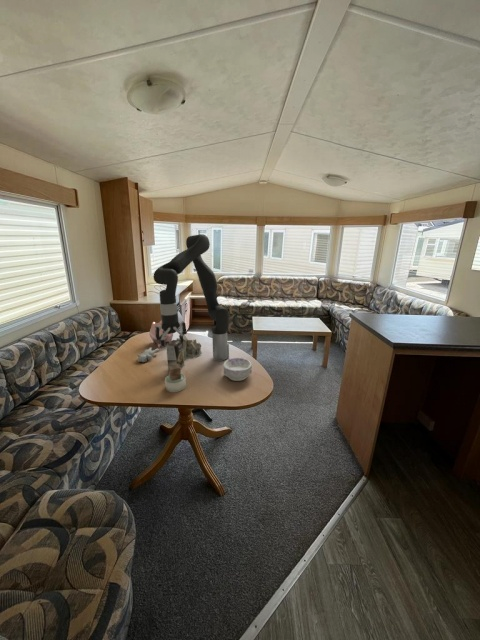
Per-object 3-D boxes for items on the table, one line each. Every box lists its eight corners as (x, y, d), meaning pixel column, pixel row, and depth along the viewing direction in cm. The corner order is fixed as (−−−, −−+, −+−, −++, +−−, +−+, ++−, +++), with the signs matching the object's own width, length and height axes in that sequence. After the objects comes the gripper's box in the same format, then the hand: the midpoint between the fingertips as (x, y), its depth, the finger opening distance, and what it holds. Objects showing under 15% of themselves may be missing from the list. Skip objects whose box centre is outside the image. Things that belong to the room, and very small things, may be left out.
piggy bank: (166, 337, 199) (165, 317, 194) (177, 344, 186) (176, 323, 181) (147, 342, 189) (144, 321, 185) (157, 349, 176) (154, 327, 171)
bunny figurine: (132, 356, 157) (147, 344, 170) (134, 363, 159) (148, 351, 172) (146, 358, 155) (160, 346, 168) (148, 365, 157) (161, 353, 170)
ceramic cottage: (170, 359, 162) (170, 336, 158) (182, 349, 177) (183, 328, 173) (193, 363, 158) (193, 340, 154) (204, 353, 174) (204, 332, 169)
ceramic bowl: (182, 380, 139) (181, 371, 137) (188, 388, 130) (187, 379, 129) (163, 385, 134) (162, 375, 132) (168, 394, 126) (167, 385, 124)
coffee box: (178, 372, 146) (176, 346, 141) (168, 371, 147) (165, 345, 142) (185, 365, 154) (183, 340, 150) (175, 364, 156) (172, 339, 151)
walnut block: (178, 374, 134) (177, 364, 132) (180, 378, 130) (180, 367, 128) (169, 376, 131) (168, 366, 130) (172, 380, 128) (171, 369, 126)
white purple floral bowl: (227, 386, 132) (226, 372, 130) (221, 372, 146) (220, 359, 144) (255, 381, 136) (255, 368, 134) (247, 368, 150) (247, 356, 148)
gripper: (181, 308, 127) (184, 339, 132) (151, 312, 120) (155, 345, 125) (186, 312, 121) (189, 344, 125) (155, 316, 114) (159, 350, 119)
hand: (172, 344), depth 125 cm, fingers open, 8 cm apart
